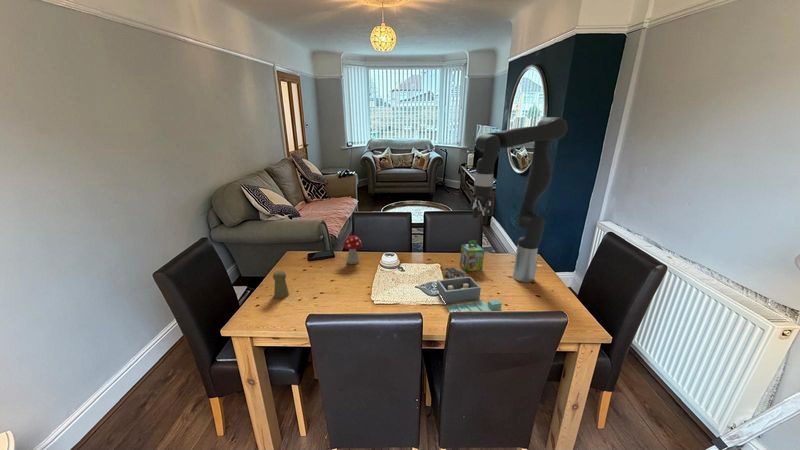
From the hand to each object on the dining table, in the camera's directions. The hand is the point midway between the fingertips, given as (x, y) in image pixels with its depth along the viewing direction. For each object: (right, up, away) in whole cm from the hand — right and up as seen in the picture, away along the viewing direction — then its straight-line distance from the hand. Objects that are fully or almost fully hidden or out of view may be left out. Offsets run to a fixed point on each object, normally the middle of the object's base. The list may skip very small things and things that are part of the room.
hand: (479, 220), depth 141 cm
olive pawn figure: (-86, -32, 0) cm, 92 cm away
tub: (-9, -33, +2) cm, 34 cm away
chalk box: (+2, -24, +29) cm, 38 cm away
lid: (-4, -37, -9) cm, 38 cm away
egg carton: (-8, -28, +19) cm, 35 cm away
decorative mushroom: (-59, -22, +32) cm, 71 cm away
